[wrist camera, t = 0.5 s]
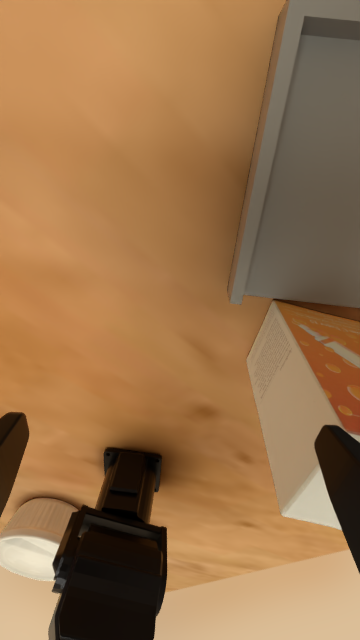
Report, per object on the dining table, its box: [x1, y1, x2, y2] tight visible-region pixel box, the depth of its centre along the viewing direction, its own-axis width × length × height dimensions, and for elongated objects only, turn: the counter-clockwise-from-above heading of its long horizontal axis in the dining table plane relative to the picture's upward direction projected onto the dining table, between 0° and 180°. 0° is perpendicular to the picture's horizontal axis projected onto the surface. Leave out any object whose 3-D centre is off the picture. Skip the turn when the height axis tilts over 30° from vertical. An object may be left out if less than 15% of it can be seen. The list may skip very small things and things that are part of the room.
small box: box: [246, 300, 360, 530], centre depth 18 cm, size 8×6×13 cm
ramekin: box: [0, 498, 79, 581], centre depth 37 cm, size 11×11×5 cm
